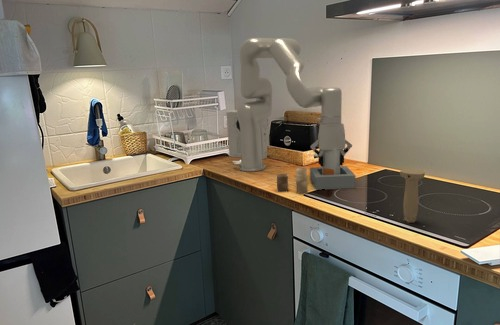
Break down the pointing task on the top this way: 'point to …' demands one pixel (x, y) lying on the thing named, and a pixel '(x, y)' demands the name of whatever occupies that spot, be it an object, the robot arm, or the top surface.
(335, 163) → the skincare box
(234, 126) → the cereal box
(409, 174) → the handle
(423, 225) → the top surface
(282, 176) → the short walnut dowel
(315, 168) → the socket block
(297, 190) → the grey brown upright block
